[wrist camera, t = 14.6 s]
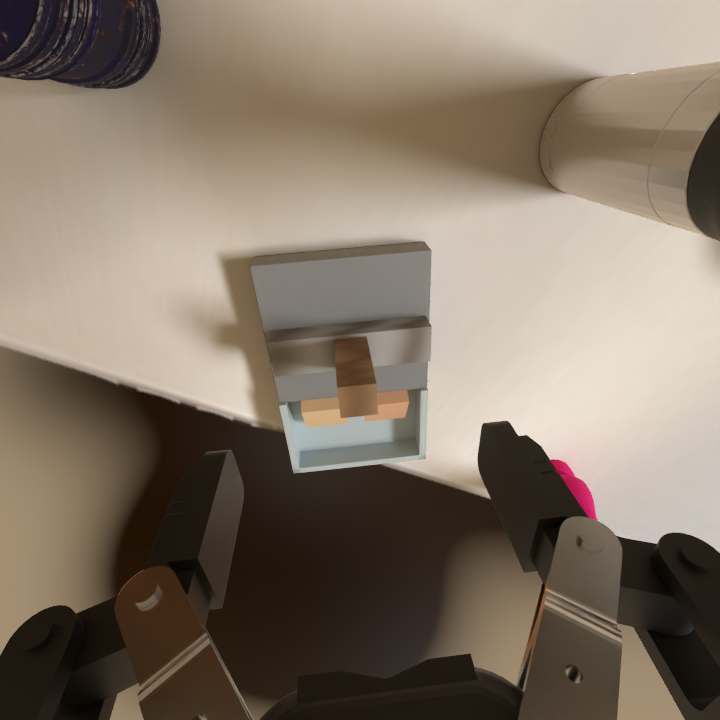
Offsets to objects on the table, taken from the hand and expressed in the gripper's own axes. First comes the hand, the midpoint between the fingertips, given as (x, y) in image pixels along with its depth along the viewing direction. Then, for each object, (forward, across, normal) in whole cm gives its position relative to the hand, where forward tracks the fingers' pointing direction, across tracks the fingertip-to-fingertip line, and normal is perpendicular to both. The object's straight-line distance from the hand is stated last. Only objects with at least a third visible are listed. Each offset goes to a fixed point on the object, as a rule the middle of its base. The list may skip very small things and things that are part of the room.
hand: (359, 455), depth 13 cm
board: (+30, 0, +10) cm, 32 cm away
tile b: (+28, +3, +20) cm, 35 cm away
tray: (+30, 0, +24) cm, 38 cm away
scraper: (+27, -1, +11) cm, 29 cm away
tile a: (+28, -4, +20) cm, 35 cm away
